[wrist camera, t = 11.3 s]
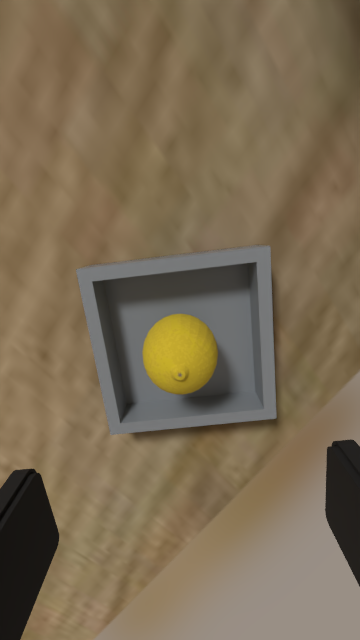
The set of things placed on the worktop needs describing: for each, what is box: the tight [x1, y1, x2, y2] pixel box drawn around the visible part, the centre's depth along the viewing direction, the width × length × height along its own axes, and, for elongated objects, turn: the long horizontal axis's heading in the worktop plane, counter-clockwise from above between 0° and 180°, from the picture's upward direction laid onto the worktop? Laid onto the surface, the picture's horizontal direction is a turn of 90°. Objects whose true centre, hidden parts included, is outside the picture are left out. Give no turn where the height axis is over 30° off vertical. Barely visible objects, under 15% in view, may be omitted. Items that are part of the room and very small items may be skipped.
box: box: [76, 245, 276, 435], centre depth 25 cm, size 14×14×4 cm
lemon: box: [142, 314, 218, 394], centre depth 22 cm, size 6×6×8 cm
